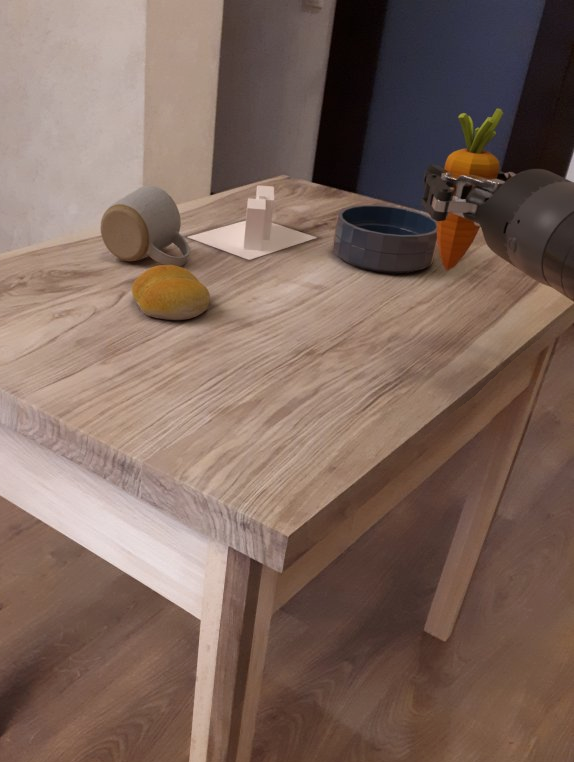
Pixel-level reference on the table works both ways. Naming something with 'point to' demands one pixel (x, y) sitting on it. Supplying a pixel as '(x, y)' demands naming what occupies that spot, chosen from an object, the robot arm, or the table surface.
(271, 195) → the napkin holder
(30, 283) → the table surface
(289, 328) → the table surface
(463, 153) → the carrot
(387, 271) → the bowl
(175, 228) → the ceramic mug
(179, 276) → the bread roll
